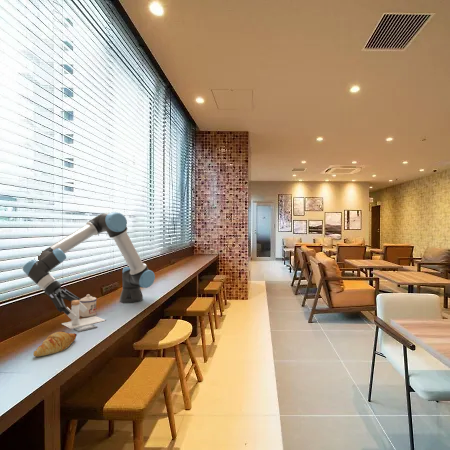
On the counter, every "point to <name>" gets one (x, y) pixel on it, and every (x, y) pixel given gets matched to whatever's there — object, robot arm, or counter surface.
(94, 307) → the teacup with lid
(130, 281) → the robot arm
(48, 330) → the counter surface
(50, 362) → the counter surface
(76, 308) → the white bottle
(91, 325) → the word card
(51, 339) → the croissant
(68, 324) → the paper
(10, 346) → the counter surface
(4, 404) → the counter surface
